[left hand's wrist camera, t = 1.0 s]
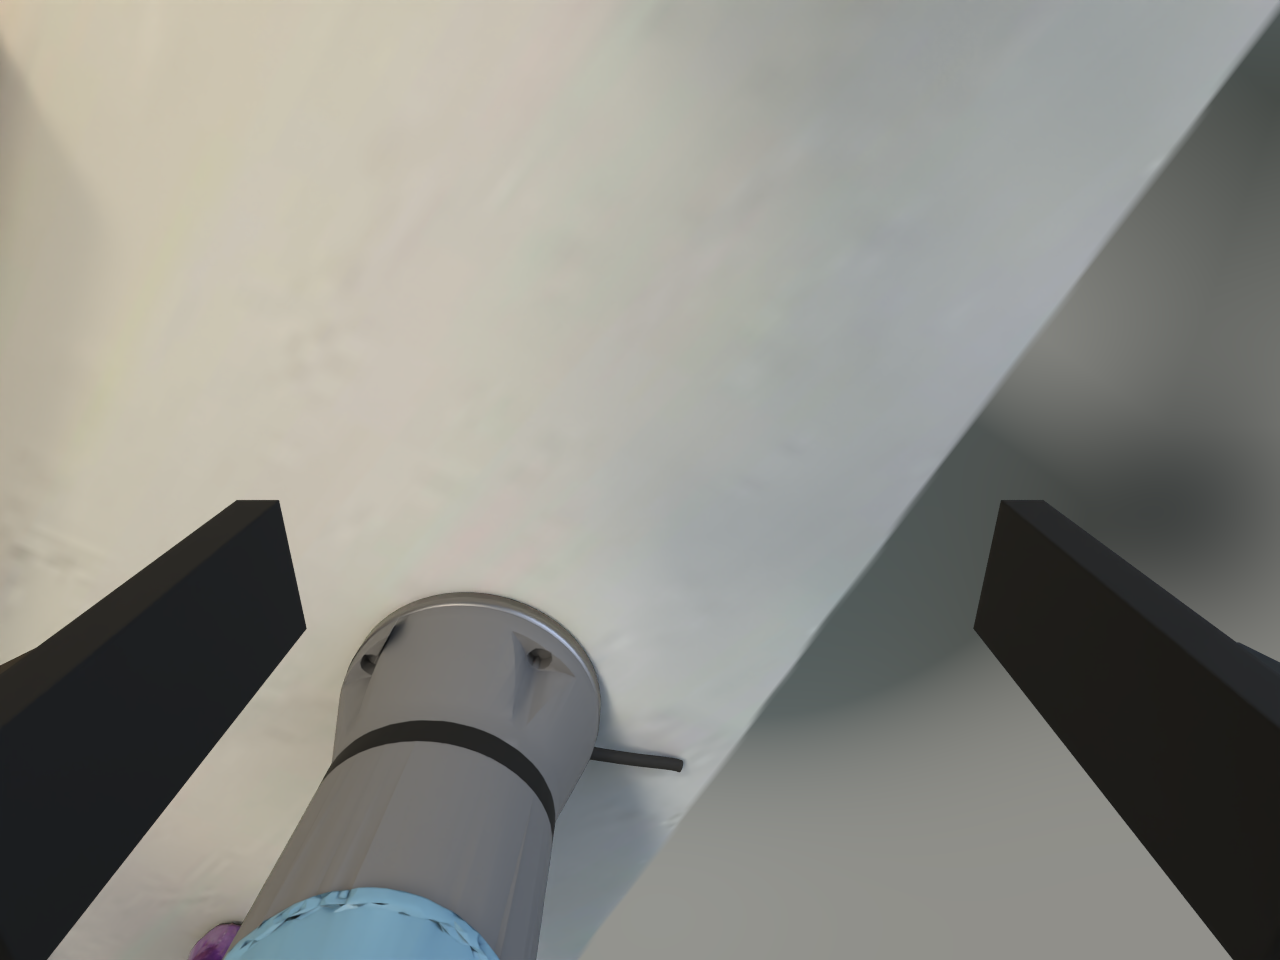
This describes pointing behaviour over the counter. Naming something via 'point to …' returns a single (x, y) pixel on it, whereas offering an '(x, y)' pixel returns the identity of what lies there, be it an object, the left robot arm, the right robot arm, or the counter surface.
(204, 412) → the counter surface
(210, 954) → the figurine
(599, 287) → the counter surface
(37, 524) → the counter surface
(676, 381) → the counter surface
